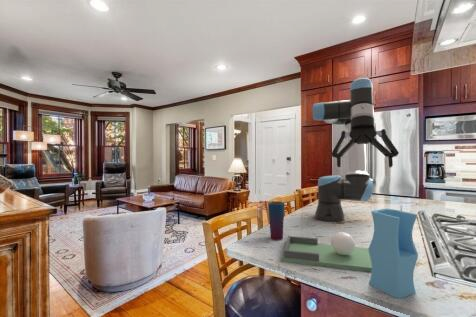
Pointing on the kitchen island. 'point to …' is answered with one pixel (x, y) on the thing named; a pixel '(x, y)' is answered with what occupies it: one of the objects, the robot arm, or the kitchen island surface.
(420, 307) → the kitchen island surface
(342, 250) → the ball
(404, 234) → the vase
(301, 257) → the grey u-shaped wall
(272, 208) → the cup
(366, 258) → the mat
